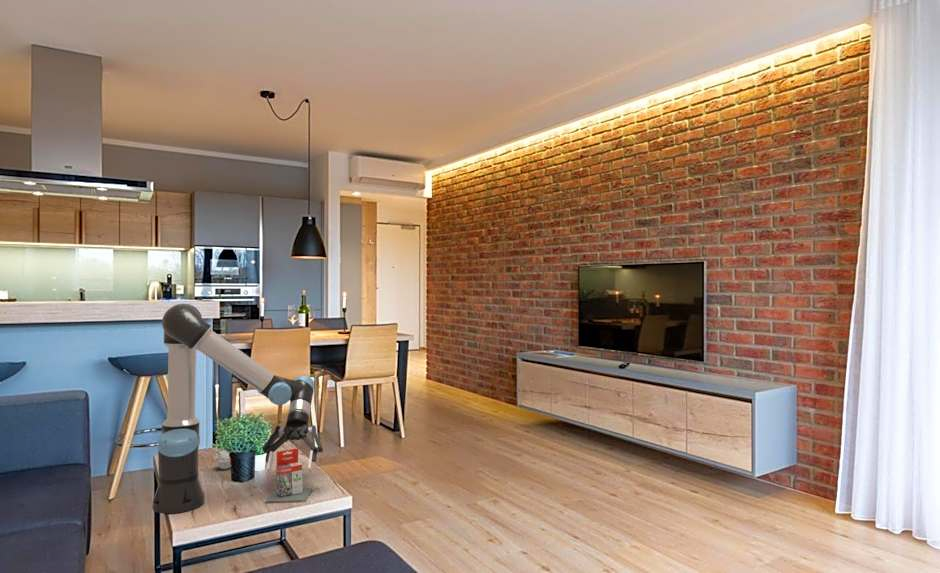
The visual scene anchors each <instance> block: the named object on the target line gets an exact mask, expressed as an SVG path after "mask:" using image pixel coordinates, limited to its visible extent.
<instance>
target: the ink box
mask: <svg viewBox="0 0 940 573" xmlns="http://www.w3.org/2000/svg"><path fill="white" fill-rule="evenodd" d="M286 453H287V454H286ZM275 476H276V477H275V478H276V482H275V484H276V486H275V489H276V495H277V496H279V497H280V498H281V497H285V496H290V495H294V494H299V493H302V492H303V488H304V487H303V464H302V463H301V462H300V461H299V448H291V449H286V450H279V451H276V468H275Z"/></svg>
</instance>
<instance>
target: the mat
mask: <svg viewBox="0 0 940 573" xmlns="http://www.w3.org/2000/svg"><path fill="white" fill-rule="evenodd" d="M312 489H314V487H303V492H302V493H299V494H294V495H290V496H285V497H281V498H280V497H279V496H277V495H276V488H274V489H273V490H272V491H271V493H270V494H269V496H268V497H267V499H266V500H265V501H264V504H278V503H279V504H283V503H285V502H288V503H302V502H301V501H306V500H307V501H308V499H309V497H310V495H311V493H312V492H311V491H313V490H312ZM308 496H309V497H308ZM307 498H308V499H307ZM307 501H306V502H307Z"/></svg>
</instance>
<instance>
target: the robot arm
mask: <svg viewBox="0 0 940 573" xmlns="http://www.w3.org/2000/svg"><path fill="white" fill-rule="evenodd" d="M161 322H162V323H161V326H162V328H163V344H164V346H166V347H167V349H168V356H167V357H168V361H167V364H168V367H167V368H168V370H167V416H166V419H165V420H164V421H163V422H162V425H161V435H160V436H159V438H158V442H157V450H158V453H157V454H158V459H157V460H158V461H157V462H158V465H157V466H158V485H157V487H156V491H155V494H154V497H153V500H152V510H153V512H155V513H158V514H165V515H166V514H168V513H171V514H178V513H184V512H188V511H189V512H190V511H191V509H192V510H194V508H195V509H197V508H199V507H200V506H202V505H204V503H205V493H204V490H203V487H202V485H201V482H200V479H199V450H200V449H199V447H200V443H201V438H200V437H201V436H200V420H199V419H198V418H197V417H196V414H195V413H196V380H197V379H196V376H197V375H196V372H197V371H196V370H197V368H196V366H197V365H196V364H197V351H199V352H201V353H202V354H203V355H205V356H206V357H208V358H209V359H210V360H212V361H214V362H215V363H217V365H219V366H221V367H222V368H224V369H225V370H227V371H228V372H229V373H231V374H232V375H234V376H235V377H236V378H238V379H239V380H241V381H242V382H244V383H245V384H247V385H248V386H250V387H251V388H253V389H254V390H255V391H257V393H258V394H261V395H262V396H264V397H265V398H266V399H268V400H269V402H270V403H271V404H273V405H276V406H284V405H285V404H287V403H288V402H289V401H290V402H289V407H288V412H287V413H288V415H287V417H286V423H285V426H284V427H280V425H276V427H275V430H274V431H273V433H272V435H270V437H269V438H267V441H266V442H265V443H264V445H263V446H262V447H261V450H262V452H263V454H266V456H265V463H266V464H267V466H266V471H267V474H271V471H272V466H273V461H274V456H275V454H274V453H275V451H276V452H277V450H278V449H279V448H280V447H281V446H282V445H283V444H285V443H286V442H288V441H289V440H290V441H301V440H303V441H304V443H305V444H306V445H307V447H308V448H309V449H310V453H309V458H308V465H307V469H308V472H309V473H312V470H313V464H314V462H315V463H316V461H317V457H318V453H323V452H324V450H323V449H324V448H323V445H322V443H321V440H320V438H319V436H318V433H317V427H316V425H311V426H310V427H309V421H310V415H311V408H312V401H313V397H314V396H313V395H314V392H315V381H314V380H313V378H311V377H310V376H306V375H303V376H302V375H298V376H297V377H295V379H291V378H290V379H289V378H285V377H282V376H279V375H275V374H274V373H272V372H271V371H269V369H267V368H265V367H264V366H263V365H261V364H260V363H259V362H257V361H256V360H254V359H253V358H251V357H250V356H249V355H247V353H244V352H243V351H242V350H240V349H239V348H238V347H236V346H235V345H233V344H232V343H230V342H229V341H227V340H226V339H225V338H224V337H223V336H221V335H219V334H218V333H216V332H215V331H213V327H212V324H211V325H210V324H209V323H207V321H205V320H204V319H203V317H202V314H201V312H200V310H199V309H198V308H197V307H195V306H194V305H192V304H189V303H187V304H186V303H178V304H175V305H173V306H171V307H170V308H168V309H167V311H165V313H164V314H163V317H162V321H161ZM283 432H284V433H283ZM309 432H310V434H311V435H312V437H313V438H314V442H315V444H316V446H315V444H314V443H313V442H312V441H311V439H310V438H309V437H308V436H307V434H308V433H309ZM282 433H283V434H282ZM280 435H281V437H279V436H280Z"/></svg>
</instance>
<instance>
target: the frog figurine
mask: <svg viewBox="0 0 940 573" xmlns="http://www.w3.org/2000/svg"><path fill="white" fill-rule="evenodd" d="M225 451H226V450H221V451H219V452H217V453H216V454H215V456H214V457H215V458H214V459H215V461H216V462H217V465H218V467H219V469H221V470H228V469H229V468H231V467H230V457H229V454H230V453H229V452H228V451H226V452H225ZM228 453H229V454H228Z"/></svg>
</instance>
